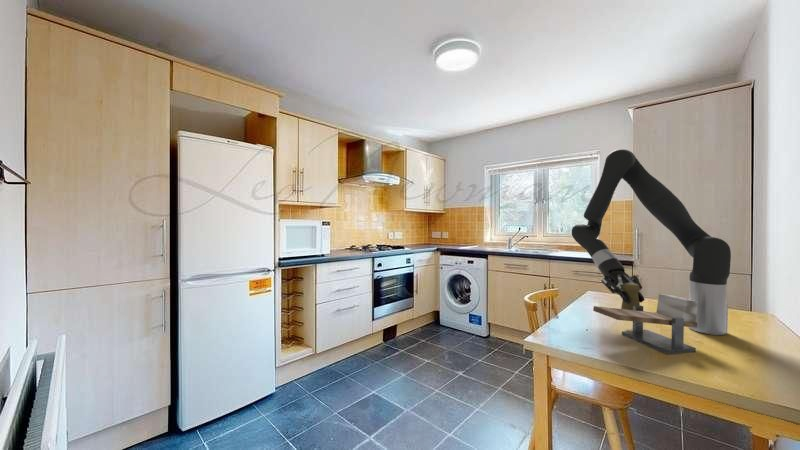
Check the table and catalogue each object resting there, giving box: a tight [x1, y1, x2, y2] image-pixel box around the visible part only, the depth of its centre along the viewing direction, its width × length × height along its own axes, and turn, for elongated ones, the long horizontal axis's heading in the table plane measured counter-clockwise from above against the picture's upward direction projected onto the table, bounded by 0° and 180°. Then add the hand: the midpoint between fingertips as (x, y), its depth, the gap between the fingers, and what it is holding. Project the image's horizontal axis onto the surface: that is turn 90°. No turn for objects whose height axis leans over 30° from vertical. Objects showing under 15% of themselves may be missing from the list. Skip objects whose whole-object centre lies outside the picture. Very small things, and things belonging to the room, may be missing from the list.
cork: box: [620, 283, 641, 310], centre depth 110 cm, size 6×6×11 cm
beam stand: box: [621, 304, 697, 355], centre depth 96 cm, size 10×15×10 cm, turn 9°
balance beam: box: [592, 293, 698, 328], centre depth 96 cm, size 28×11×8 cm, turn 100°
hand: (635, 301), depth 108 cm, fingers closed on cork, 4 cm apart
